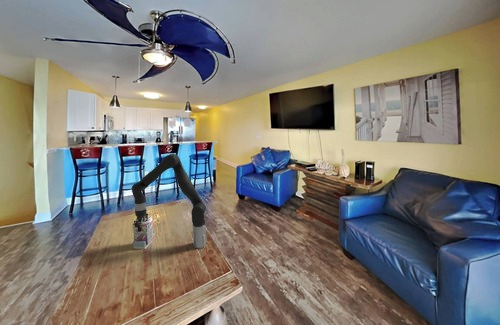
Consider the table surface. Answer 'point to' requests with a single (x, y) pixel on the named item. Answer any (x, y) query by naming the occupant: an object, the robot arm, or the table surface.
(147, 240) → the candy bar box
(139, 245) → the slotted rack
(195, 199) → the robot arm
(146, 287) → the table surface
